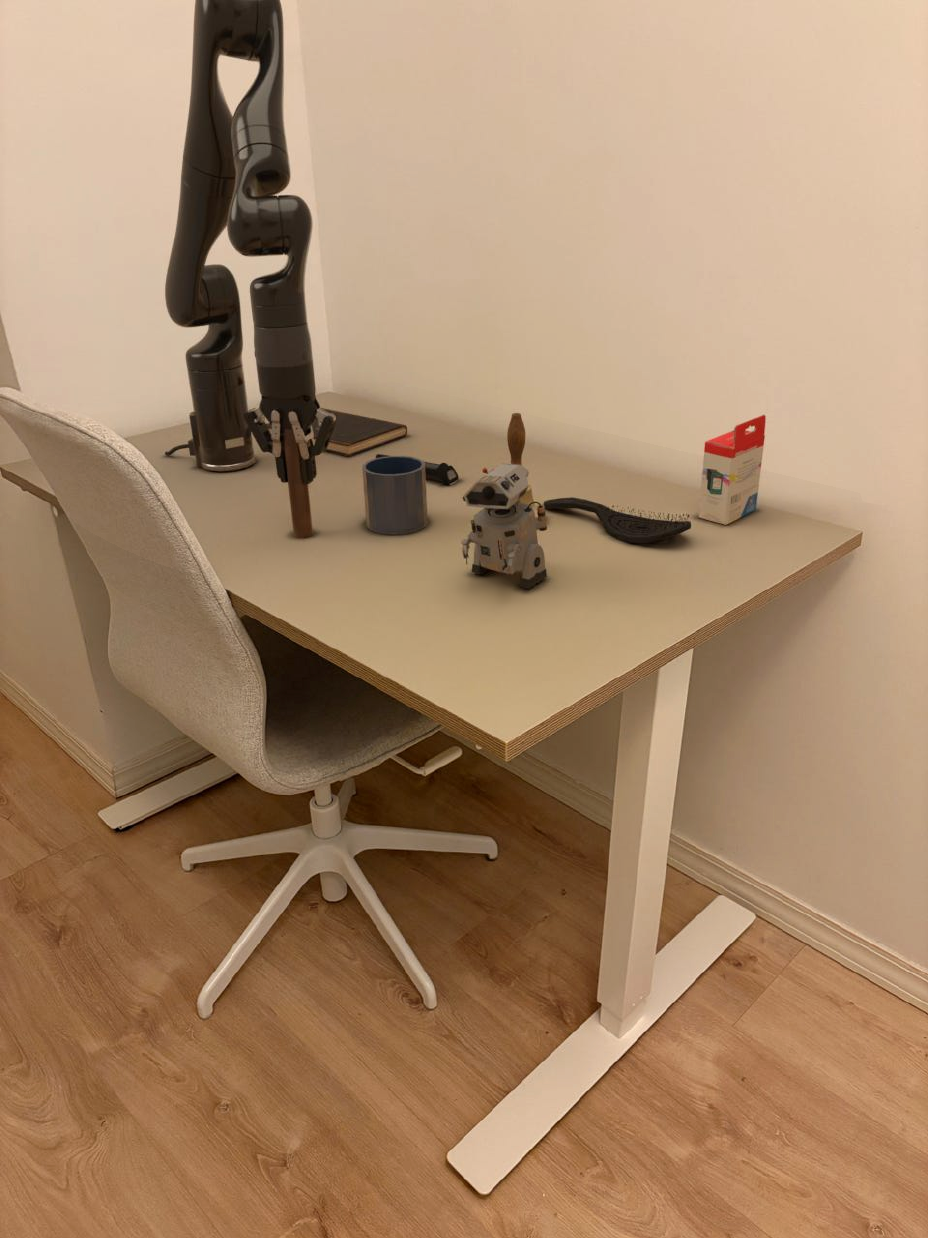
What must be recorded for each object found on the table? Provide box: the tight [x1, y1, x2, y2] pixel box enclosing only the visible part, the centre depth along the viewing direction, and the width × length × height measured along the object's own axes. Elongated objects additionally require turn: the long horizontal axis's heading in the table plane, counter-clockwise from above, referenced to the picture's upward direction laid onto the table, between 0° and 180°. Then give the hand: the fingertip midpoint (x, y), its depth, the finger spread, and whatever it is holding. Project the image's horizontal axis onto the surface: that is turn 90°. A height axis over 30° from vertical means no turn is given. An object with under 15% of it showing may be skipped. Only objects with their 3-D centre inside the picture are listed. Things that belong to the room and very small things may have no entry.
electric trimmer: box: [375, 453, 459, 486], centre depth 163 cm, size 4×16×3 cm, turn 58°
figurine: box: [460, 463, 548, 590], centre depth 121 cm, size 9×12×15 cm
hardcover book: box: [266, 407, 408, 458], centre depth 185 cm, size 16×23×2 cm
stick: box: [282, 428, 314, 539], centre depth 137 cm, size 3×3×16 cm
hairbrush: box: [543, 497, 692, 544], centre depth 141 cm, size 8×4×25 cm
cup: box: [361, 455, 428, 536], centre depth 142 cm, size 9×9×9 cm
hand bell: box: [506, 412, 538, 517], centre depth 140 cm, size 8×8×16 cm
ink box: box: [698, 414, 767, 526], centre depth 141 cm, size 8×5×15 cm, turn 134°
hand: (297, 481), depth 137 cm, fingers closed on stick, 2 cm apart
